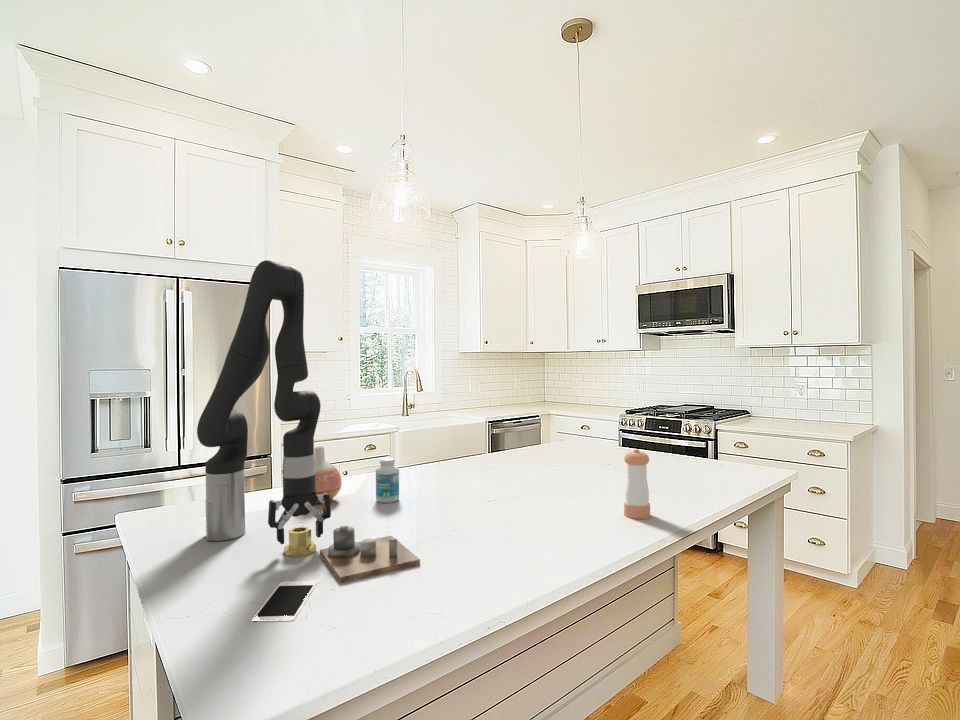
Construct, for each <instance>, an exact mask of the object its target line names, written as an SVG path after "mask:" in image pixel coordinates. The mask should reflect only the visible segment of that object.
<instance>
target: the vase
mask: <svg viewBox="0 0 960 720" xmlns="http://www.w3.org/2000/svg"><path fill="white" fill-rule="evenodd" d="M325 457H326V455H325V447H324V446H314V459H315V477H316V495H320V494H323V493H324V492H326V493H327V494H328V495H329V498H330V502H331V501H332V500H333V499H334V498H335V497H336V496H337V495H338V494H339V493H340V491H341V488H342V485H343V483H342V476H341V473H340V472H339V470H338V469H337V467H336V466H334V465H333V464H332V463H330V462H329V461H327V460H326V458H325ZM318 504H319V505H323V503H321V502H320V500H318V501H317V502H316V504H315V505H318Z"/></svg>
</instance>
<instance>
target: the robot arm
mask: <svg viewBox="0 0 960 720" xmlns="http://www.w3.org/2000/svg"><path fill="white" fill-rule="evenodd" d="M273 300H275V301H280V302H281V305H282V310H283V320H282V324H281V328H280V331H279V333H278V335H277V338H276V339H275V341H276V342H275V346H274V357H275V365H276V373H277V382H276V390H275V396H274V403H273V404H274V405H273V406H274V407H273V409H274V413H275V416H277V418H278V419H279V420H280V421H282V422H285V423H286V422H294V421H295V422H296V421H299V422H298V424H297V426H296V427H295V428H293V429H291V430H288V431H286V432H285V433H284V434H283V437H282V438H283V439H282V447H283V448H282V450H283V451H282V453H283V458H282V470H281V474H282V499H281V500H274V499H271V500H269V502H268V512H267V513H268V515H267V516H268V517H267V524H268V526H269V528H272V529H276V541H277V542H278V543H279V544H280V545H285V528H284V527H285V525H286V524H287V522H288V521H290V519H291V517H294V518H296V517H299V516H308V514H310V513H311V514H312V515H313V517H315V519H316V520H315V537H316V538H318V539H319V538H321V537H322V536H321V535H324V522H325V520H327V519H330V518H331V516H332V515H331V513H332V512H331V501H330V498H329V495H328V494H327V493H326V492H324V493H323V494H320V495H316V477H315V459H314V448H315V446H314V445H315V444H314V443H315V440H314V439H315V433H316V428H317V425H318V421H319V417H320V413H321V400H320V398H319V396H318V393H316V392H314V391H313V390H300V391H299V390H298V391H296V390H295V391H294V387H295V384H296V383H300V382H303V381H305V380H307V379H308V376H309V370H308V362H307V357H306V356H307V355H306V350H305V349H306V348H305V342H304V341H305V339H304V320H305V319H304V316H305V314H304V313H305V312H304V309H305V308H304V306H305V284H304V277H303V274H302V272H301V271H300V269H298V268H297V267H296V266H293V265H289V264H286V263H282V262H277V261H273V260H268V259H267V260H266V259H265V260H262V261H261V262H259V263H258V264H257V265H256V267H255V269H254V270H253V273H252V276H251V278H250V281H249V285H248V288H247V294H246V296H245V301H244V306H243V309H242V313H241V316H240V318H239V322H238V325H237V328H236V330H235V333H234V335H233V336H234V337H233V338H232V341H231V343H230V346H229V347H228V351H227V353H226V357H225V360H224V363H223V366H222V369H221V371H220V374H219V376H218V379H217V381H216V384H215V386H214V388H213V391H212V393H211V395H210V396H209V399H208V401H207V403H206V405H205V407H204V409H203V411H202V413H201V414H200V416H199V420H198V423H197V427H196V434H197V439H198V440H197V441H199V443H200V444H201V445H202V446H204V447H206V448H218V447H219V448H218V451H217V452H216V453H215V454H214V455H213V456H212V457H210V458H209V459H207V460H206V462H205V467H204V469H205V536H206V541H207V542H212V541H214V542H218V541H219V542H221V541H228V540H234V539H236V538H239V537H242V536H243V535H244V534H245V533H246V505H245V504H246V502H245V501H246V499H245V498H246V496H245V462H246V459H247V456H248V438H249V437H248V435H249V434H248V433H249V429H248V421H247V417H246V416H245V413H243V412H242V411H241V410H240V409H236V408H234V407H235V405H236V404H237V402H238V401H239V400H240V398H241V397H242V396H243V395H244V394H245V393H246V392H247V391H248V390H249V389H250V388H251V387H252V386H253V384H255V382H256V381H257V380H258V379H259V378H260V376H261V375H262V373H263V370H264V368H265V365H266V363H267V361H268V358H269V355H270V351H271V344H270V339H269V334H268V330H267V315H268V312H269V308H270V305H271V303H272V301H273ZM318 500H320V502H321V503H322V510H323V511H322V513H319V511H317V509H316V508H315V506H316V505H317V504H316V502H317V501H318ZM280 506H282V507H283V509H284V510H283V512H282V513H281V515H280V517H279V518H278V520H277V521H276V514H277V512H276V511H278V510H279V509H280Z"/></svg>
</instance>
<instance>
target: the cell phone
mask: <svg viewBox="0 0 960 720" xmlns="http://www.w3.org/2000/svg"><path fill="white" fill-rule="evenodd" d="M318 583H319V581H318V580H303V581H301V580H299V581H281V582H279V584H278V585H277V586H276V587H275V589H274V590H273V591H272V593H271V594H270V595H269V596H268V597H267V599H266V600H265V601H264V603H263V604H262V605H261V607H260V608H259V609H258V611H257V612H256V613H257V615H258V617H259V618H260V620H263V621H264V620H268V621H269V620H273V621H274V620H277V619H279V620H283V619H285V618H286V617H285V616H286V615H287V616H289V617H287V618H289V619H290V616H291V617H292V616H293V617H295V616H296V615H297V614H298V613H299V614H300V612H299V610H300V609H301V607H302V606H303V604H304V602H307V601H308V600H307V599H306V600H307V601H305V599H304V598H306V597H307V595H309V593H311V592H312V593H313V591H314V590H315V588H316V587H317V585H318ZM316 584H317V585H316ZM315 586H316V587H315ZM314 587H315V588H314ZM313 589H314V590H313ZM312 590H313V591H312ZM307 593H308V594H307ZM312 593H311V594H312ZM305 596H306V597H305ZM303 599H304V600H303ZM304 605H305V604H304ZM303 607H304V606H303ZM301 610H302V609H301ZM297 612H298V613H297ZM295 614H296V615H295ZM299 614H298V615H299ZM257 615H256V616H257ZM284 615H285V616H284ZM254 616H255V615H254ZM256 616H255V617H256ZM282 616H283V617H285V618H283V617H282ZM278 617H279V618H278ZM291 619H292V618H291ZM287 620H288V619H287Z"/></svg>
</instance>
